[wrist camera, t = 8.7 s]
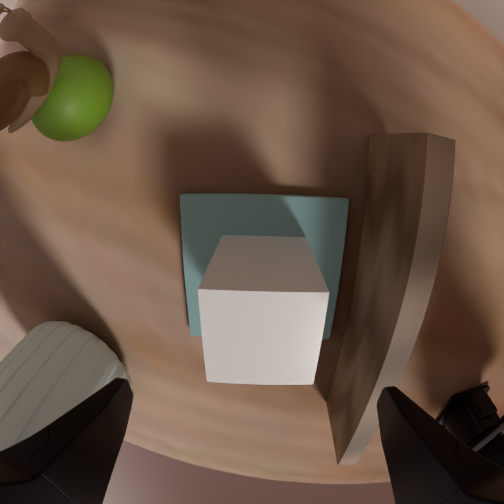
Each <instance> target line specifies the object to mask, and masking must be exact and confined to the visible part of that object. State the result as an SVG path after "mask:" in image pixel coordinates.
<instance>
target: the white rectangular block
mask: <svg viewBox="0 0 504 504" xmlns="http://www.w3.org/2000/svg"><path fill="white" fill-rule="evenodd" d="M198 299H199V310H200V321H201V332H202V342H203V351H204V360H205V369H206V377H207V382H220V383H236V384H261V385H308V384H313V383H314V378H315V373H316V368H317V363H318V358H319V353H320V347H321V342H322V336H323V330H324V324H325V318H326V312H327V305H328V299H329V290H328V288H327V285H326V283H325V280H324V278H323V276H322V273H321V271H320V269H319V266H318V264H317V261H316V259H315V257H314V254H313V252H312V250H311V247H310V245H309V243H308V241H307V238H306V237H287V236H247V235H222V237H221V239H220V241H219V243H218V246H217V248H216V250H215V252H214V254H213V256H212V259H211V261H210V263H209V265H208V267H207V270H206V272H205V274H204V276H203V278H202V281H201V283H200V285H199V287H198Z"/></svg>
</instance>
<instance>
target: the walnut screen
mask: <svg viewBox="0 0 504 504" xmlns="http://www.w3.org/2000/svg"><path fill="white" fill-rule="evenodd" d="M454 158H455V140H453V139H450V138H446V137H442V136H438V135H434V134H430V133H407V134H385V135H370V136H369V147H368V166H367V181H366V193H365V204H364V214H363V223H362V231H361V239H360V247H359V254H358V261H357V267H356V273H355V279H354V285H353V291H352V297H351V302H350V307H349V312H348V317H347V322H346V327H345V332H344V336H343V341H342V345H341V349H340V353H339V358H338V362H337V366H336V370H335V374H334V377H333V381H332V385H331V388H330V392H329V396H328V399H327V408H328V414H329V419H330V424H331V430H332V435H333V441H334V447H335V453H336V458H337V464H338V466H341V465H349V464H356V463H357V461H358V460H359V458H360V457H361V455H362V453H363V452H364V450H365V448H366V447H367V445H368V443H369V441H370V440H371V438H372V436H373V434H374V433H375V431H376V429H377V427H378V425H379V420H378V413H377V401H378V399H379V396H380V394H381V392H382V389H383V388H384V387H389V386H395V387H398V384H399V382H400V380H401V377H402V375H403V373H404V370H405V368H406V366H407V363H408V361H409V358H410V356H411V353H412V350H413V348H414V345H415V342H416V340H417V337H418V334H419V331H420V328H421V325H422V322H423V319H424V316H425V313H426V310H427V306H428V303H429V300H430V296H431V293H432V289H433V285H434V282H435V278H436V274H437V270H438V266H439V261H440V257H441V252H442V247H443V243H444V237H445V232H446V226H447V220H448V214H449V207H450V200H451V192H452V183H453V172H454Z"/></svg>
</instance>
